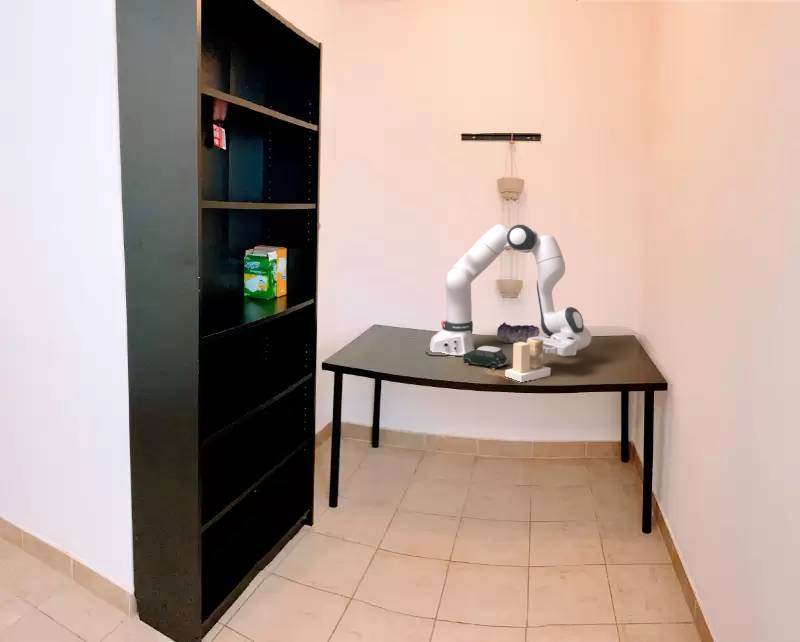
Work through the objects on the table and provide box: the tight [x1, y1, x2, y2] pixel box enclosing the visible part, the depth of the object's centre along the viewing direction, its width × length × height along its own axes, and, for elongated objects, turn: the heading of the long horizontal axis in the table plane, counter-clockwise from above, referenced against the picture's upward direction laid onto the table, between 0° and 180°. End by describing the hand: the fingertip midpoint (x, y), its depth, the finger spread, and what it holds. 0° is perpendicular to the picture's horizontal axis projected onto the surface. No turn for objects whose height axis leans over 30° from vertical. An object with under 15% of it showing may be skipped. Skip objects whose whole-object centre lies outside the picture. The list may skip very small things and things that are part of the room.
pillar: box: [527, 339, 544, 369], centre depth 272 cm, size 4×4×11 cm
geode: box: [496, 321, 541, 344], centre depth 324 cm, size 20×12×10 cm, turn 80°
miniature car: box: [462, 345, 508, 370], centre depth 288 cm, size 9×18×8 cm, turn 56°
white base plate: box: [504, 342, 551, 383], centre depth 270 cm, size 16×9×14 cm, turn 125°
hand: (536, 348), depth 271 cm, fingers open, 8 cm apart
